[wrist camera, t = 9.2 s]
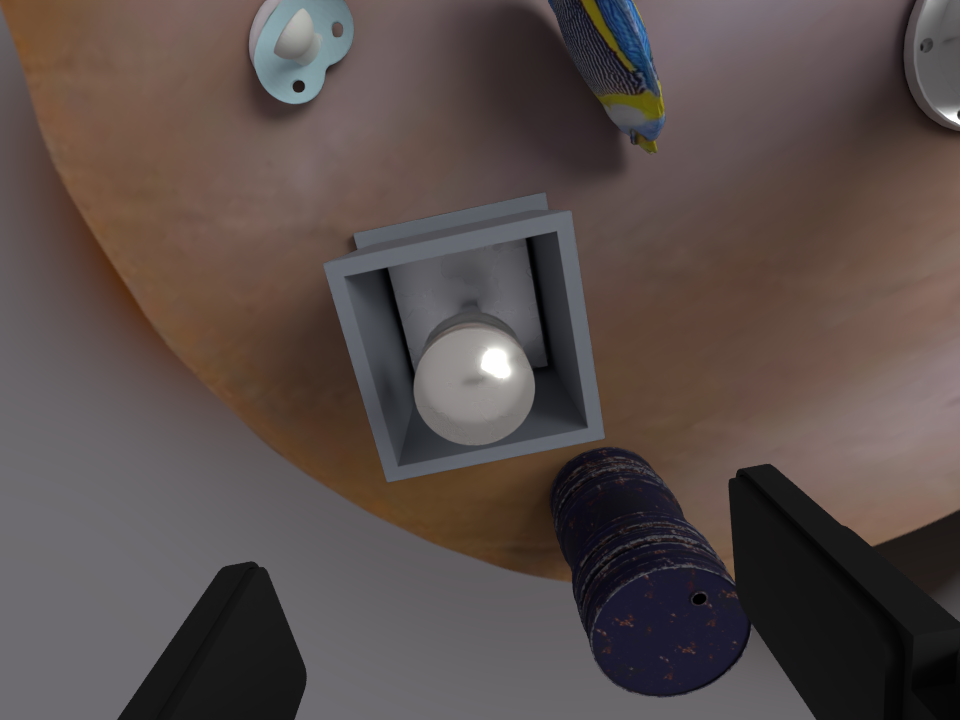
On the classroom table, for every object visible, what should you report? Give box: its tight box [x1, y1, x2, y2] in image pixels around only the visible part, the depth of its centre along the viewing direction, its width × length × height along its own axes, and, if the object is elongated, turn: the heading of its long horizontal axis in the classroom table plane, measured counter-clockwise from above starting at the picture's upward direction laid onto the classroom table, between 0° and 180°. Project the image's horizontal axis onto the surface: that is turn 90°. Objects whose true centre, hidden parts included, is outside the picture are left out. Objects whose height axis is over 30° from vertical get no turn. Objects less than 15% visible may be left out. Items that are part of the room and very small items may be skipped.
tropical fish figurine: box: [548, 0, 665, 154], centre depth 30 cm, size 16×3×10 cm, turn 38°
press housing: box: [323, 192, 605, 483], centre depth 32 cm, size 14×14×14 cm
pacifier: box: [249, 0, 354, 104], centre depth 31 cm, size 7×6×6 cm
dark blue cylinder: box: [550, 447, 753, 697], centre depth 37 cm, size 10×10×15 cm
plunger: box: [388, 238, 548, 445], centre depth 29 cm, size 9×9×16 cm
